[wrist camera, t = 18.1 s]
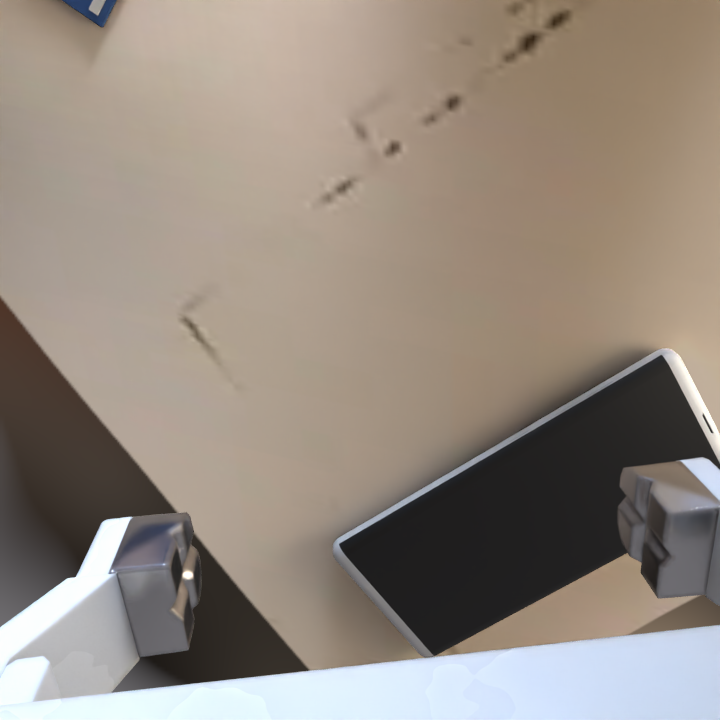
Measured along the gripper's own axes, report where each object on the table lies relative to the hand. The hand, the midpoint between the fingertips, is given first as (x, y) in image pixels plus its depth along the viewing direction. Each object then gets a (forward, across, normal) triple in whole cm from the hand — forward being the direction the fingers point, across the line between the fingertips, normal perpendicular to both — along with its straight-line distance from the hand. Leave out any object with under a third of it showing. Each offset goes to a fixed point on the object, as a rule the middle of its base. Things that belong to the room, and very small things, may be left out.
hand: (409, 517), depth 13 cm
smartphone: (+30, -12, +22) cm, 39 cm away
